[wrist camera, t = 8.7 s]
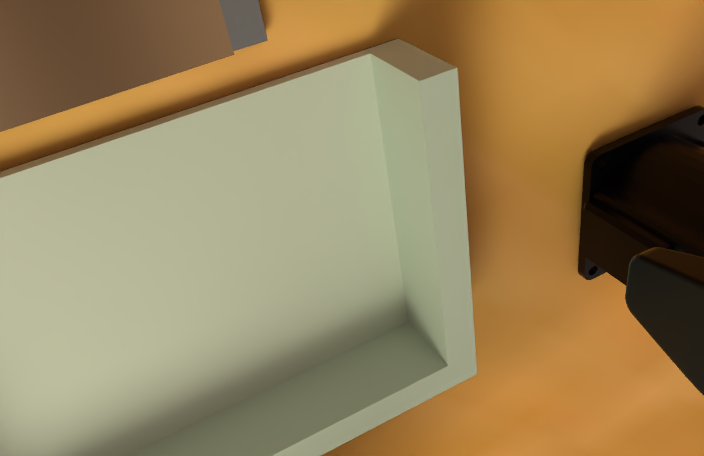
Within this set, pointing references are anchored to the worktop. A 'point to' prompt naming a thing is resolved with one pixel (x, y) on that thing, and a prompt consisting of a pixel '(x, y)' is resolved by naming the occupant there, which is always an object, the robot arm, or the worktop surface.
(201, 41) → the walnut block
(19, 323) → the crate
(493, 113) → the worktop surface
